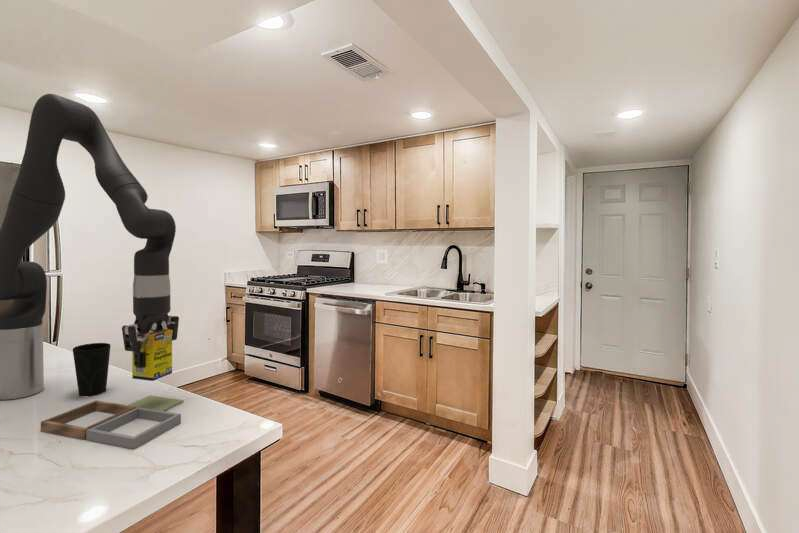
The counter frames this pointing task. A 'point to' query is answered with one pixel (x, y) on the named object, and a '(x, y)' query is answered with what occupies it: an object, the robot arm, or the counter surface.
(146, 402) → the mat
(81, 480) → the counter surface
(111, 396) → the counter surface
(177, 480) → the counter surface
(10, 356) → the robot arm
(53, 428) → the walnut tray
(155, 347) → the supplement box
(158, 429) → the grey tray
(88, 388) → the cup
